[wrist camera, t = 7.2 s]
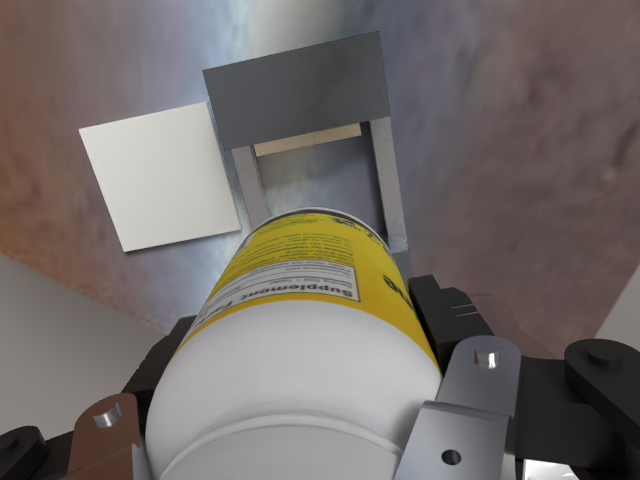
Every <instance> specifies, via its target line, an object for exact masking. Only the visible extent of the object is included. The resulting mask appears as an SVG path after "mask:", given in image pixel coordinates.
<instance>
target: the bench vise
mask: <svg viewBox="0 0 640 480" xmlns="http://www.w3.org/2000/svg"><path fill="white" fill-rule="evenodd" d="M202 72H203V75H204V79H205V83H206V86H207V90H208V94H209V97H210V101H211V105H212V109H213V112H214V116H215V120H216V123H217V127H218V131H219V135H220V138H221V142H222V146H223V149H224V151H225V150H230V149H231V151H232V155H233V159H234V163H235V166H236V170H237V174H238V178H239V182H240V185H241V189H242V193H243V197H244V200H245V204H246V208H247V212H248V216H249V219H250V223H251V227H252V231H253V230H254V229H255V228H256V227H257V226H259V225H260V224H261V223H263V222H264V221H266V220H267V219H269V218H271V216H270V212H269V208H268V204H267V200H266V196H265V192H264V188H263V184H262V180H261V176H260V172H259V168H258V164H257V160H256V156H257V157H258V156H262V155H267V154H272V153H277V152H282V151H287V150H292V149H297V148H302V147H307V146H311V145H316V144H321V143H326V142H331V141H336V140H341V139H346V138H351V137H355V136H360V135H361V130H360V124H359V123H361V122H366V121H369V127H370V134H371V140H372V146H373V153H374V159H375V165H376V172H377V178H378V184H379V190H380V197H381V203H382V209H383V216H384V222H385V228H386V232H380V233H377V234H378V235H379V237H380V238H381V239H382V240H383V242H384V243H385V244H386V246H387V247H388V249H389V251H390V253H391V255H392V257H393V259H394V261H395V263H396V265H397V268H398V270H399V272H400V275H401V278H402V280H403V282H404V285H405V286H406V289H407V291H408V284H407V279H409V278H413V271H412V264H411V257H410V250H409V248H408V243H407V236H406V229H405V222H404V215H403V208H402V201H401V194H400V187H399V180H398V173H397V166H396V159H395V153H394V146H393V139H392V132H391V125H390V118H389V117H390V109H389V102H388V95H387V88H386V81H385V74H384V67H383V60H382V53H381V46H380V39H379V32H378V31H376V32H371V33H367V34H362V35H358V36H353V37H349V38H345V39H340V40H336V41H331V42H327V43H322V44H318V45H313V46H309V47H304V48H300V49H295V50H291V51H286V52H282V53H277V54H273V55H268V56H264V57H260V58H255V59H251V60H246V61H242V62H237V63H233V64H228V65H224V66H219V67H215V68H210V69H206V70H202ZM253 145H254V148H255V152H256V156H255V152H254V148H253ZM370 228H372V229H373V230H374V228H373V226H372V227H370ZM374 231H375V230H374ZM408 293H409V292H408Z"/></svg>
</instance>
